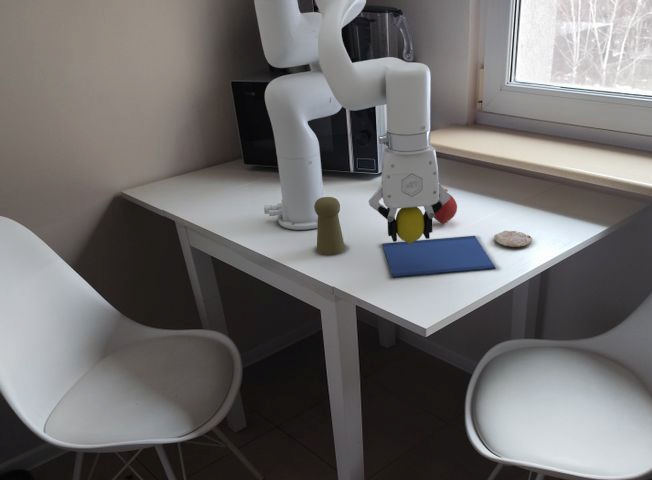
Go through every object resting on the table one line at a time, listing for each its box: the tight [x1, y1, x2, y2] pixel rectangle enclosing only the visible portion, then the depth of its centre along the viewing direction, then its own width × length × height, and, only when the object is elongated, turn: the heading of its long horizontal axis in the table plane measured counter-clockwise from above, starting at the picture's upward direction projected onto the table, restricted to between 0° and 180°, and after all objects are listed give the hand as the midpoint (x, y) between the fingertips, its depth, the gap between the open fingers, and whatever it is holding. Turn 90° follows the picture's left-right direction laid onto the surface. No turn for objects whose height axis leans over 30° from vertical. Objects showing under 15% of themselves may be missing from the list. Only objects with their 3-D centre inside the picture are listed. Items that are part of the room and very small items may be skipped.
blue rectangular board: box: [382, 235, 496, 279], centre depth 125 cm, size 20×16×1 cm
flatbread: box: [493, 230, 533, 248], centre depth 130 cm, size 8×8×1 cm
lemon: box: [395, 207, 425, 244], centre depth 117 cm, size 6×6×8 cm
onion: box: [433, 188, 458, 225], centre depth 138 cm, size 6×6×8 cm
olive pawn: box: [314, 196, 346, 256], centre depth 128 cm, size 6×6×11 cm
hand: (410, 236), depth 118 cm, fingers closed on lemon, 5 cm apart
